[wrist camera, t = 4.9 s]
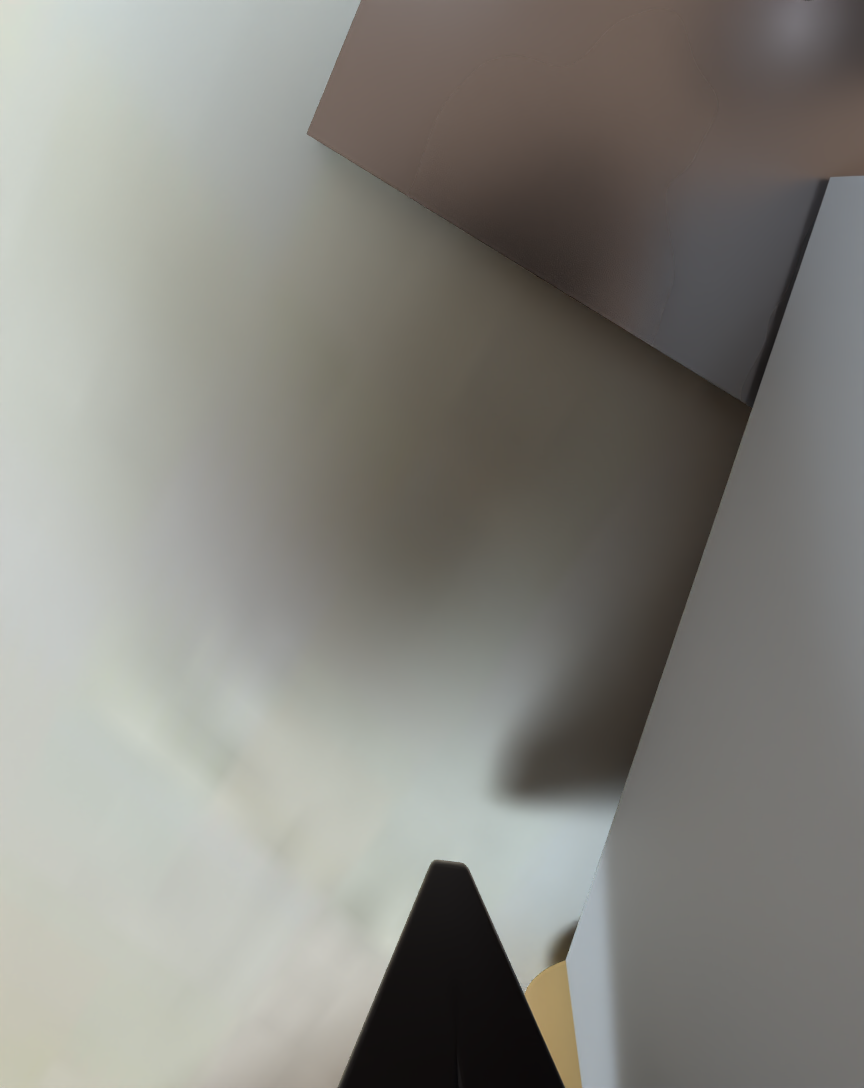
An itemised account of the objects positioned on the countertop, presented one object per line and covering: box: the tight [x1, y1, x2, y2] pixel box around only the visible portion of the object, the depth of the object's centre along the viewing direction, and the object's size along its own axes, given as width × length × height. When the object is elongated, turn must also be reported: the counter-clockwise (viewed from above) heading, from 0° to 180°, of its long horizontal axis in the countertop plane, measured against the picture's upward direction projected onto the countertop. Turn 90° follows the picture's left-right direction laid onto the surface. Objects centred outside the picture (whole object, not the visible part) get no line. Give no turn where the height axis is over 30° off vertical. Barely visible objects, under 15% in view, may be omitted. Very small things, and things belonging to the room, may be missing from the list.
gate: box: [525, 176, 864, 1088], centre depth 7 cm, size 13×2×5 cm, turn 173°
